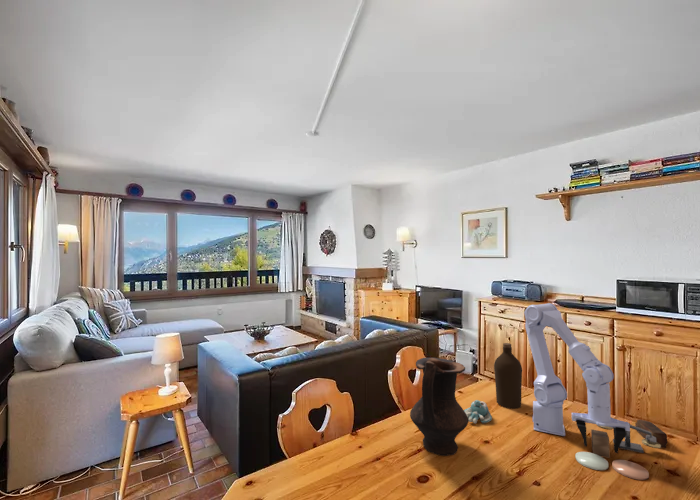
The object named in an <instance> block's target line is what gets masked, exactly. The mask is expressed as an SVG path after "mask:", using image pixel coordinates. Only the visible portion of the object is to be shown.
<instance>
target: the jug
mask: <svg viewBox="0 0 700 500" xmlns="http://www.w3.org/2000/svg"><path fill="white" fill-rule="evenodd" d="M415 367H416V368H417V369H419V370H422V378H421V379H422V381H421V397H420V399H418V401H417V402H415V404H414V405H413V406H412V408H411V409H410V412H409V417H410V419H411V421H412V423H413V424H414V425H415V426H416V428H417V429H418V430H419V431H420V432H421V434H422V436H423V438H422V446H423V448H424V449H425V450H426V451H427V452H430V453H431V454H434V455H437V456H441V457H444V456H446V457H448V456H453V455H455V454H456V453H457V452H458V450H459V449H458V448H459V447H458V446H459V445H458V444H457V442H456V437H457V436H458V435H459V434H460V433H461V432H462V431H464V430H465V429H466V428H467V427H468V424H469V423H470V422H469V420H468V417H467V415H466V413H465V412H464V410H465V409H464V408H463V407H462V405H460V403H459V402H458V400H457V399H456V388H457V387H456V386H457V385H456V384H457V376H458V374H462V373H463V372H465V371H466V367H465V365H463V364H461V363H460V362H456V361H454V360H452V359H451V360H450V359H446V358H438V357H423V358H419V359H418V360H416V361H415Z"/></svg>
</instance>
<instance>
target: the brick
mask: <svg viewBox="0 0 700 500" xmlns="http://www.w3.org/2000/svg"><path fill="white" fill-rule="evenodd" d="M634 426H636V427H638V428H641V429H644V430H646V431H649V432H651V433H652V436H654V437H656V442H658V443H660V445H661V447H660V448H663V449H666V448H667V445H668V436H667V433H666V432H664V431H663V430H662V429H660V428H659V427H658V426H657V425H655V423H653V422H651V421H648V420H645V419H637V420H636V422H635V425H634ZM635 431H636V432H637V433H638V434H639V435H640V436H641V437H642V438H643V439H646V435H648V434H645V433H643V432H640V431H637V430H635Z"/></svg>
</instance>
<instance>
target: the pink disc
mask: <svg viewBox="0 0 700 500" xmlns="http://www.w3.org/2000/svg"><path fill="white" fill-rule="evenodd" d="M611 467H612V468H613V469H614V471H615V472H617V473H618V474H620V475H622V476H624V477H626V478H630V479H632V480H639V481H644V480H645V481H646V480H648V479H649V478H650V474H649V473H650V472H649V470H647V468H645V467H644V466H642V465H640V464H638V463H636V462H633V461H629V460H626V459H615V460H613V461H612V466H611Z"/></svg>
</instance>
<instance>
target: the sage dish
mask: <svg viewBox="0 0 700 500" xmlns="http://www.w3.org/2000/svg"><path fill="white" fill-rule="evenodd" d="M574 455H575V460H576V462H577V463H578V464H580V465H581V466H582V467H585V468H588V469H590V470H591V469H592V470H595V471H606V470H608V469H609V462H608V460H607V459H606V458H605V457H602V456H599V455H596V454H593V452H590V451H589V452H588V451H578V452H576V453H575V454H574Z"/></svg>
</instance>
